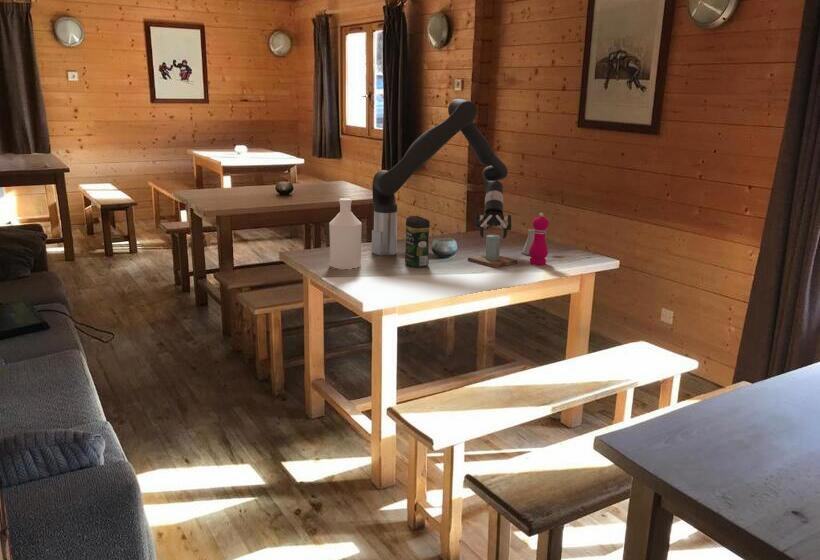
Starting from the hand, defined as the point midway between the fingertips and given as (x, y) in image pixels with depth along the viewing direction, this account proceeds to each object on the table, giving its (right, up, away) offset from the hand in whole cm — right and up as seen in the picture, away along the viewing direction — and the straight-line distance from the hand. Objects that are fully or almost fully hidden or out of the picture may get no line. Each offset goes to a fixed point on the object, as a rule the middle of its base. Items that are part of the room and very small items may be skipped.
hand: (493, 237), depth 270 cm
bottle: (-57, -12, -18) cm, 61 cm away
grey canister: (-1, -9, -6) cm, 11 cm away
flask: (+17, -6, +10) cm, 20 cm away
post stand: (-1, -10, -6) cm, 12 cm away
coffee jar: (-31, -12, -14) cm, 36 cm away
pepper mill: (+17, -11, -6) cm, 21 cm away
